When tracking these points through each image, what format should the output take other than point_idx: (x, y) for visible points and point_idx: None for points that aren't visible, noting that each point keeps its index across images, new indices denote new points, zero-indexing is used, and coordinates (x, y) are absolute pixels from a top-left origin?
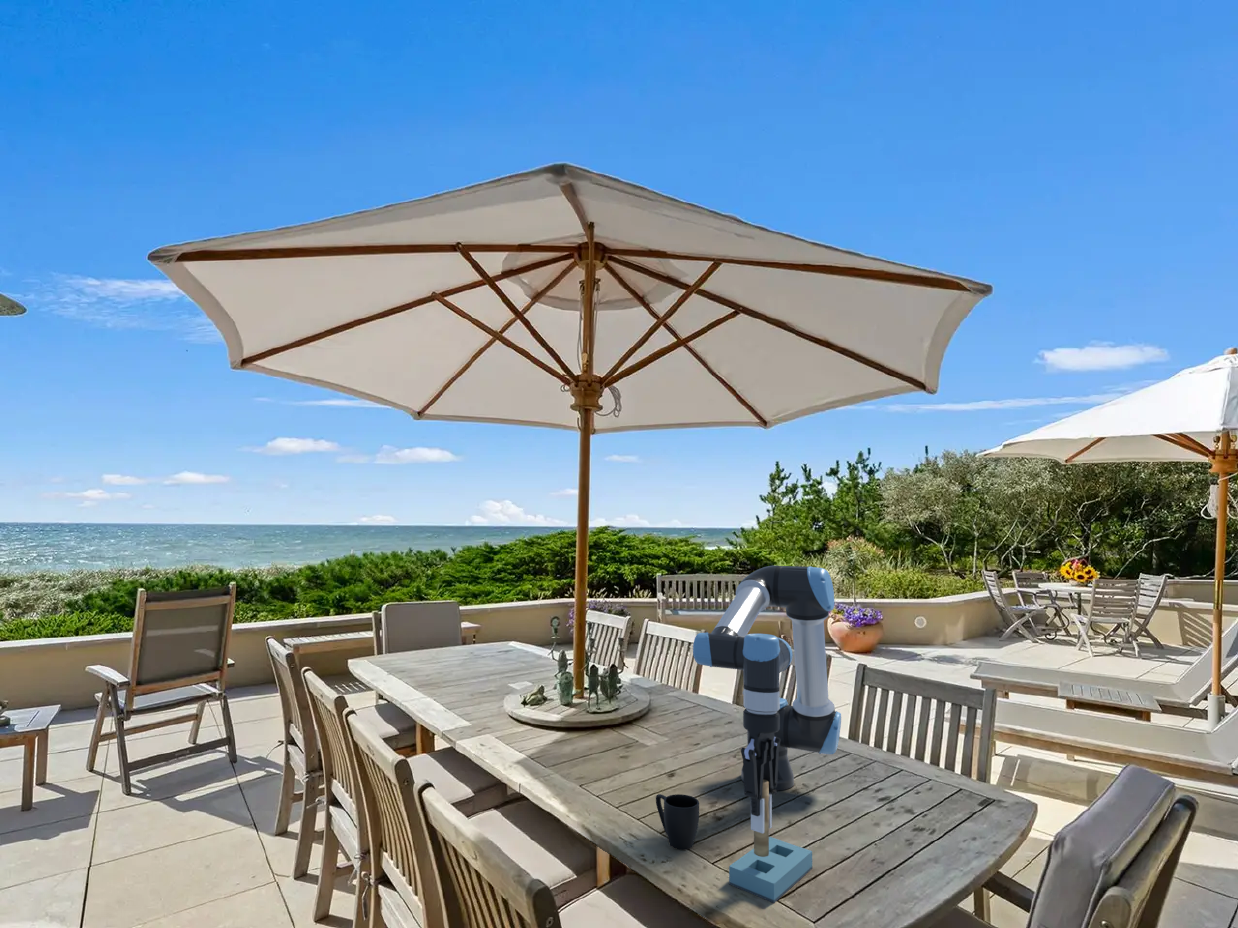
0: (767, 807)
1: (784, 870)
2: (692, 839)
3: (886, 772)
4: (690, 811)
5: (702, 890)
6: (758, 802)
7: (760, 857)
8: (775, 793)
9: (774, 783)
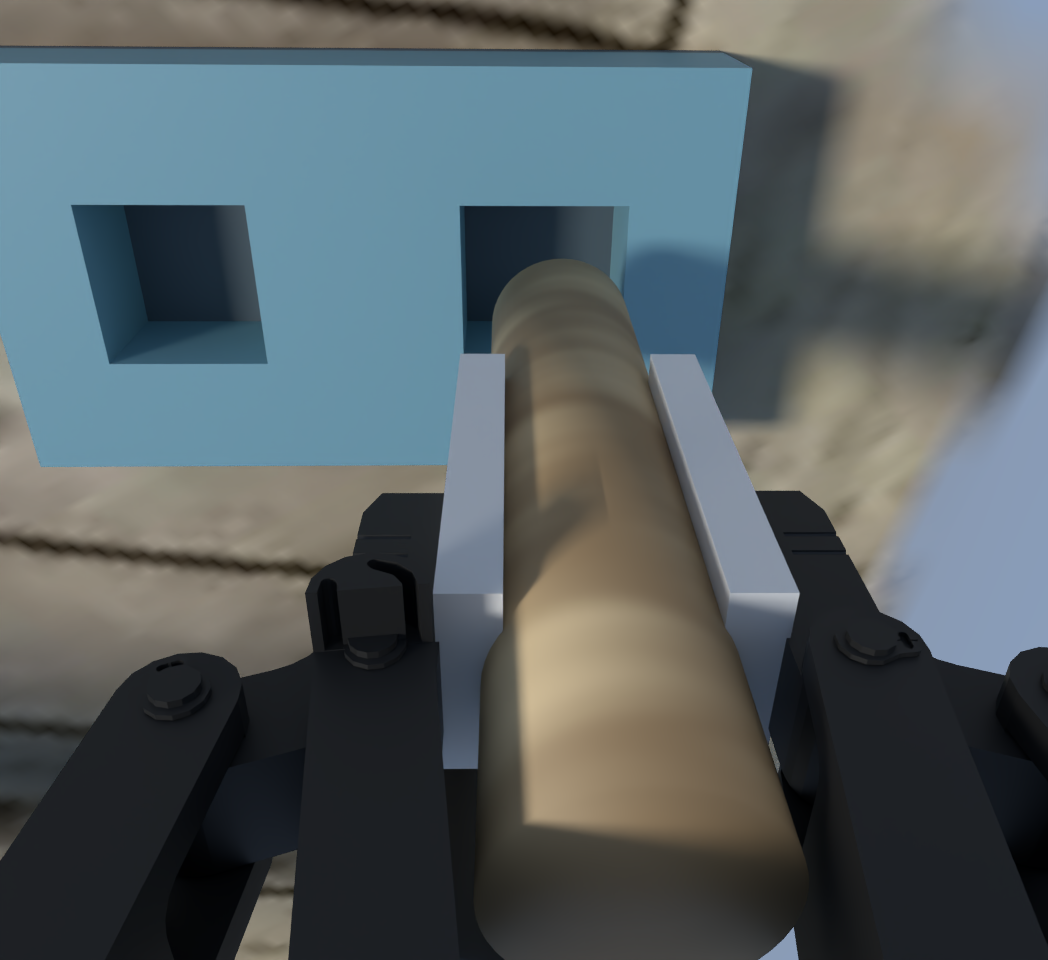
0: (610, 486)
1: (472, 103)
2: (451, 775)
3: None
4: None
5: (846, 482)
6: (828, 605)
7: (414, 361)
8: (372, 556)
9: (231, 721)
